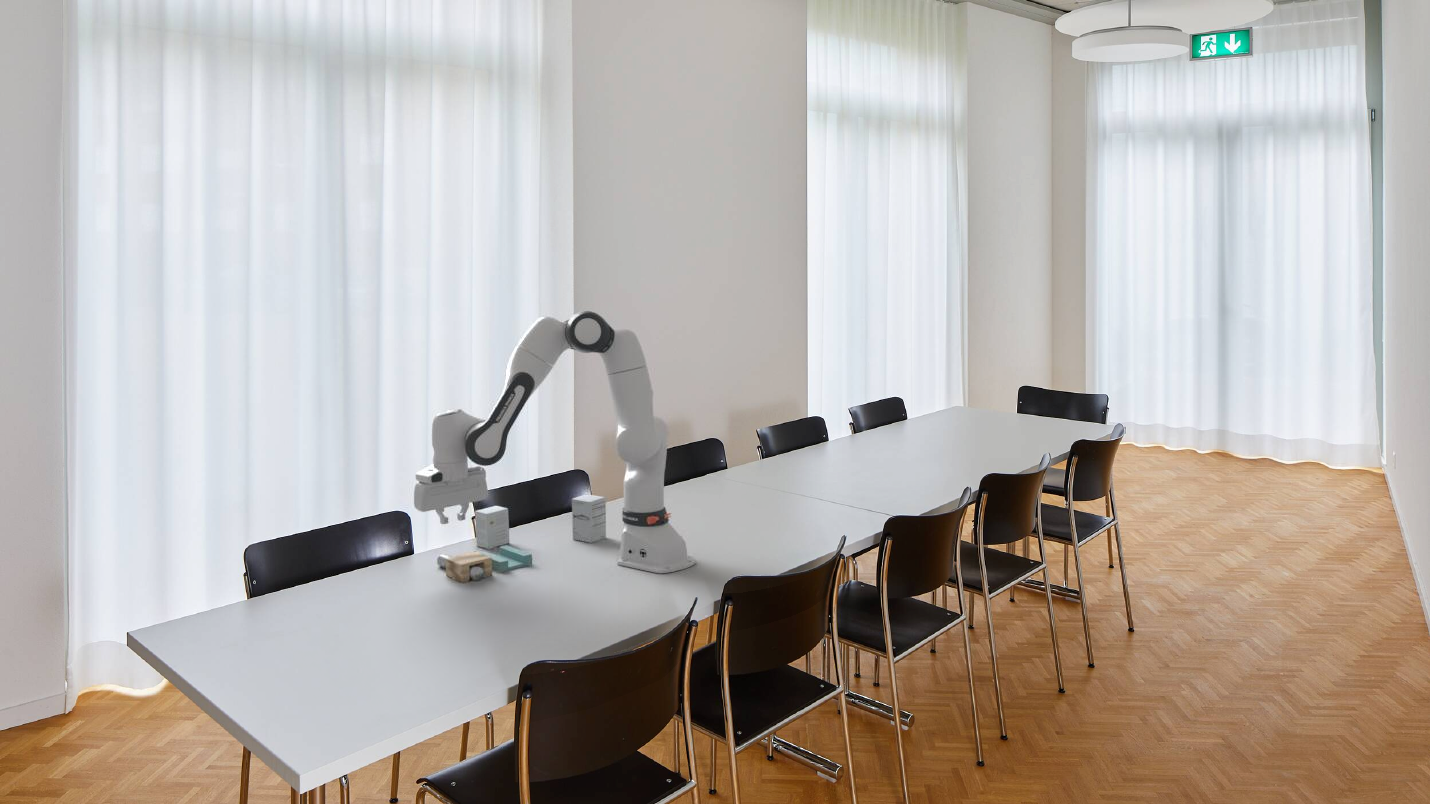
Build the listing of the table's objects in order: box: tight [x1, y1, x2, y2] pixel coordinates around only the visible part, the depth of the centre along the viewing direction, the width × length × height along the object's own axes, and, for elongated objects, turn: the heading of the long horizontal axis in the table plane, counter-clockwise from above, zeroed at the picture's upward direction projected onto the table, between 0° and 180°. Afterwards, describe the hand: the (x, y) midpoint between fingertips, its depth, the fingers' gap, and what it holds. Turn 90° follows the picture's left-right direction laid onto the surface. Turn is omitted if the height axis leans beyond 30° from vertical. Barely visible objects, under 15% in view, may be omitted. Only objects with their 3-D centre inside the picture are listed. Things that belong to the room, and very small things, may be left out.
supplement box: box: [571, 493, 607, 544], centre depth 285 cm, size 7×7×13 cm
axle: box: [436, 553, 486, 582], centre depth 255 cm, size 18×4×4 cm, turn 47°
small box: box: [474, 505, 511, 550], centre depth 281 cm, size 8×6×10 cm
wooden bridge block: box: [445, 551, 493, 583], centre depth 253 cm, size 8×9×5 cm
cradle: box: [478, 544, 533, 573], centre depth 263 cm, size 12×10×3 cm
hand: (453, 521), depth 256 cm, fingers open, 4 cm apart
